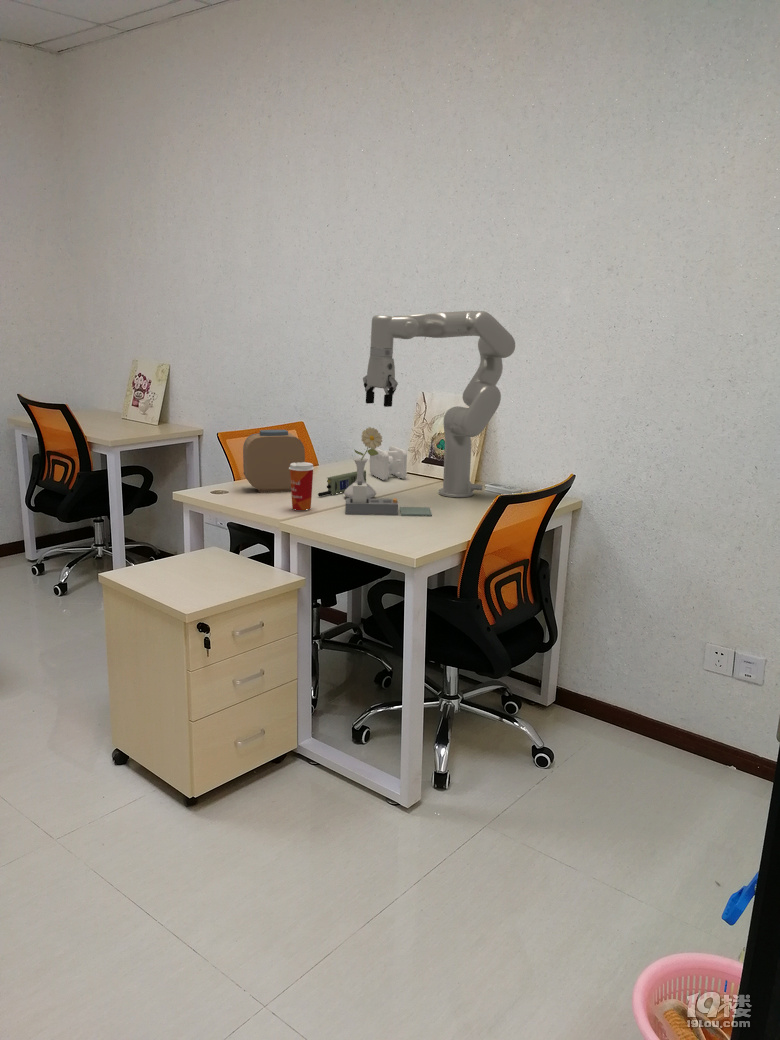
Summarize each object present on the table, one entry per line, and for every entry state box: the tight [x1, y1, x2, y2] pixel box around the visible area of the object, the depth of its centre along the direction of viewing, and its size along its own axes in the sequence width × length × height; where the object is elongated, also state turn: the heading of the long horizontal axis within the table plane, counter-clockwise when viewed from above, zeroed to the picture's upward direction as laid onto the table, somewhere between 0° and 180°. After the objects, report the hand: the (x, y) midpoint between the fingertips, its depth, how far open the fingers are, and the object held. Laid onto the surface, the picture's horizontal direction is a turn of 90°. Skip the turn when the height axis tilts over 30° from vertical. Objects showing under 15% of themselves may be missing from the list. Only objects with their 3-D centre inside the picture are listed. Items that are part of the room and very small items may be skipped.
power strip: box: [344, 497, 399, 516], centre depth 272 cm, size 17×8×4 cm, turn 92°
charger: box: [353, 481, 368, 503], centre depth 271 cm, size 4×4×10 cm
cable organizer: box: [369, 445, 408, 481], centre depth 327 cm, size 15×11×12 cm
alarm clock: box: [242, 429, 306, 493], centre depth 299 cm, size 21×10×22 cm, turn 108°
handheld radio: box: [317, 469, 367, 497], centre depth 300 cm, size 7×3×25 cm
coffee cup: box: [289, 461, 315, 511], centre depth 272 cm, size 8×8×15 cm
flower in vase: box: [343, 426, 383, 499], centre depth 289 cm, size 13×11×25 cm
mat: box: [399, 506, 433, 517], centre depth 273 cm, size 10×10×1 cm
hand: (378, 404), depth 281 cm, fingers open, 9 cm apart
